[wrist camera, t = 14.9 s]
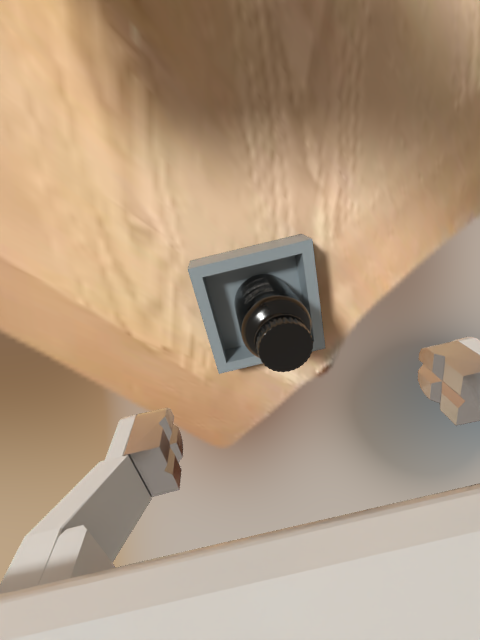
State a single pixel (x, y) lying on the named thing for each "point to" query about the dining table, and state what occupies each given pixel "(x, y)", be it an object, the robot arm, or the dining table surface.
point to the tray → (227, 276)
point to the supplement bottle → (273, 322)
